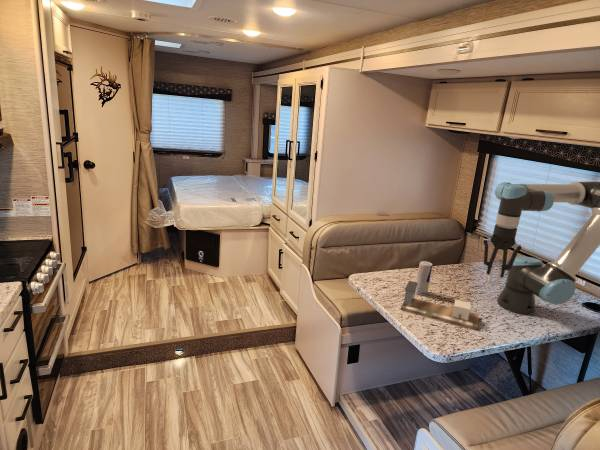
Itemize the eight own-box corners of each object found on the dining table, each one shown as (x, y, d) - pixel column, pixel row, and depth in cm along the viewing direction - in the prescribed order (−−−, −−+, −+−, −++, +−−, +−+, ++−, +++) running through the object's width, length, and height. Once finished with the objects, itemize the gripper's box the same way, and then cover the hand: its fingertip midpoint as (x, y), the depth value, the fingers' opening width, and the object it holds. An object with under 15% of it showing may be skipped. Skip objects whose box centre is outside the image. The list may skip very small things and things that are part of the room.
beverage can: (427, 296, 180) (433, 266, 176) (415, 294, 181) (420, 264, 177) (426, 291, 185) (431, 261, 181) (414, 289, 186) (419, 260, 182)
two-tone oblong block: (415, 298, 174) (417, 282, 172) (411, 307, 166) (414, 291, 163) (406, 296, 176) (409, 280, 173) (402, 305, 167) (404, 288, 165)
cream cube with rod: (468, 313, 164) (470, 303, 162) (467, 324, 155) (469, 312, 154) (453, 310, 166) (455, 299, 164) (451, 319, 158) (453, 308, 156)
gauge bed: (478, 317, 165) (478, 314, 164) (477, 330, 154) (478, 327, 154) (406, 298, 176) (406, 295, 176) (400, 309, 166) (401, 306, 165)
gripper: (528, 227, 147) (514, 284, 154) (484, 219, 153) (472, 275, 160) (530, 232, 140) (515, 291, 147) (484, 224, 146) (471, 282, 153)
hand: (492, 283), depth 153 cm, fingers open, 2 cm apart
